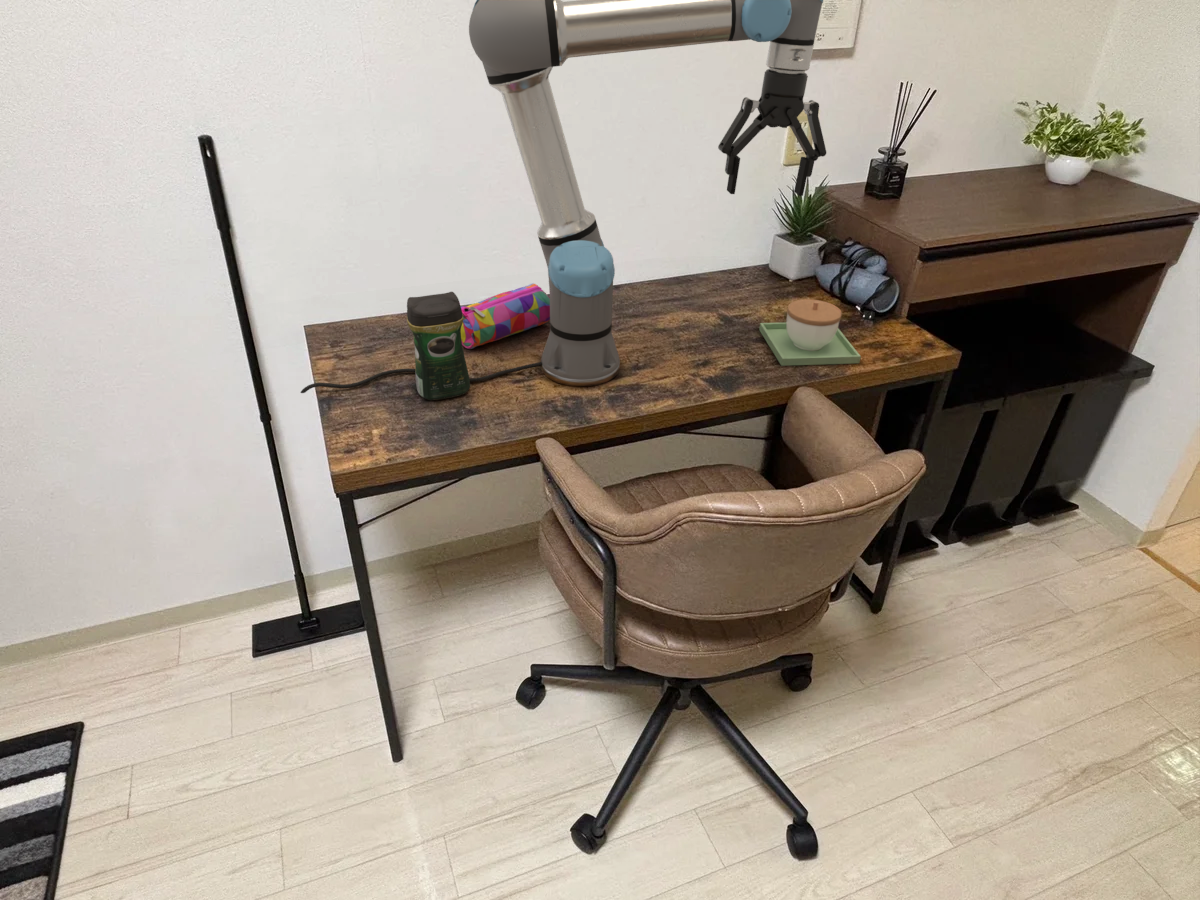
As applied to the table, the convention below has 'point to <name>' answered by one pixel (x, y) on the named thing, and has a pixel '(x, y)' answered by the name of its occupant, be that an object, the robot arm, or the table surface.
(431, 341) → the coffee jar
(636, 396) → the table surface
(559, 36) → the robot arm
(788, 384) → the table surface
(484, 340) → the pencil case
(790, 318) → the trinket box
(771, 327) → the tray
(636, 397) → the table surface
